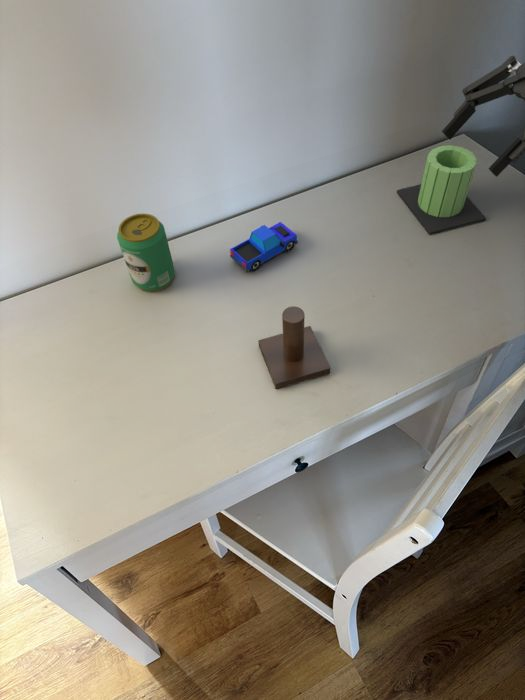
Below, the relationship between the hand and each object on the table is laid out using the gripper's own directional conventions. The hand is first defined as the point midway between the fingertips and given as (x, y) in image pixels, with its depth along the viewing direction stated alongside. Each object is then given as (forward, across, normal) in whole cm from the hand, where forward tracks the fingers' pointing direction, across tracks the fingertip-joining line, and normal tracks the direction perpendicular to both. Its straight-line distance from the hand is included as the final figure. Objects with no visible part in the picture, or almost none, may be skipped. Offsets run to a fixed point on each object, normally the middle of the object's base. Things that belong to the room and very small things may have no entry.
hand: (468, 153), depth 99 cm
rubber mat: (+10, 0, -5) cm, 11 cm away
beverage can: (+51, +7, +36) cm, 62 cm away
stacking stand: (+40, -21, +25) cm, 52 cm away
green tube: (+10, 0, -5) cm, 11 cm away
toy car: (+36, +4, +21) cm, 42 cm away
